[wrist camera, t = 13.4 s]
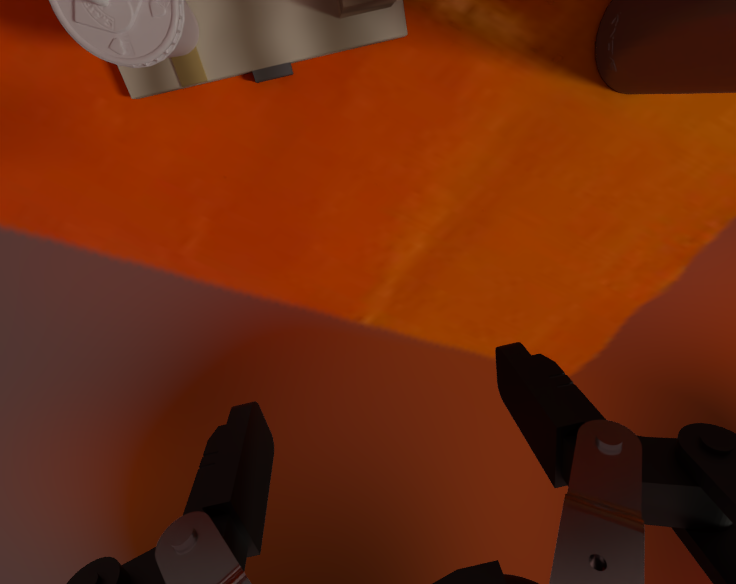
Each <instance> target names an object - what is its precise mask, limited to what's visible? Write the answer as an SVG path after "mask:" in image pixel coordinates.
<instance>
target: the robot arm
mask: <svg viewBox="0 0 736 584" xmlns="http://www.w3.org/2000/svg"><path fill="white" fill-rule="evenodd" d="M596 62H597V66H598V70H599V72H600V74H601V76H602V78H603V80H604V81H605V82H606V84H607V85H608V86H609V87H610V88H612V89H614V90H615V91H617V92H620V93H623V94H694V93H736V0H612V2H611V3H610V5H609V6H608V8H607V10H606V12H605V14H604V16H603V18H602V20H601V23H600V27H599V30H598V33H597V40H596ZM495 352H496V369H497V383H498V389H499V392H500V395H501V398H502V400H503V402H504V404H505V405H506V407H507V409H508V410H509V412H510V414H511V416H512V417H513V419H514V420H515V422H516V424H517V426H518V427H519V429H520V430H521V432H522V434H523V436H524V437H525V439H526V441H527V442H528V444H529V446H530V447H531V449H532V451H533V453H534V454H535V456H536V458H537V459H538V461H539V462H540V464H541V466H542V468H543V469H544V471H545V473H546V474H547V476H548V478H549V479H550V481H551V483H552V484H553V486H554V488H558V487H562V486H567V485H568V492H567V494H565V498H564V503H563V510H562V515H561V520H560V526H559V532H558V538H557V543H556V549H555V554H554V560H553V566H552V571H551V577H550V584H644V540H645V537H644V536H645V533H644V532H645V530H644V524H647V525H656V526H667V527H672V529H673V530H674V532H675V533H676V534H677V536H678V537H679V538H680V540H681V541H682V542H683V544H684V545H685V546H686V548H687V549H688V550H689V552H690V553H691V554H692V556H693V557H694V558H695V560H696V561H697V563H698V564H699V565H700V567H701V568H702V569H703V570H704V572H705V573H706V575H707V576H708V577H709V579H710V580H711V581H712V583H713V584H736V434H735V433H734V432H732V431H730V430H727V429H725V428H723V427H719V426H716V425H712V424H704V423H695V424H690V425H687V426H684V427H683V428H682V429H681V430H680V431H679V434H678V438H656V437H655V438H654V437H642V436H637V435H635V433H633V432H632V431H631V430H630V429H628V428H627V427H625V426H623V425H621V424H619V423H616V422H613V421H608V420H606V419H605V418H604V417H603V416H602V415H601V414H600V412H599V411H598V410H597V409H596V408H595V407H594V406H593V404H592V403H591V402H590V401H589V400H588V399H587V398H586V397H585V395H584V394H583V393H582V392H581V391H580V390H579V389H578V387H577V386H576V385H574V384H573V382H572V381H571V380H570V378H569V377H568V376H567V375H565V373H564V372H563V370H562V369H561V368H560V367H559V366H558V365H557V364H556V362H554V361H553V360H551V359H549V358H547V357H545V356H544V355H542V354H536V355H532V356H531V354H530V353H529V352H528V351H527V350H526V348H525V347H524V346H523V345H522V344H521V343H520V342H517V343H512V344H508V345H503V346H499V347H496V351H495ZM203 456H204V457H202V460H201V463H200V466H199V467H200V469H198V472H197V475H196V478H195V481H194V484H193V487H192V490H191V493H190V495H189V498H188V502H187V505H186V507H185V510H184V513H183V516H181V517H180V518H178V519H177V520H175V521H174V522H173V523H172V524H171V525H170V526H169V527H168V528H167V529H166V530H165V531H164V533H163V534H162V535H161V537H160V539H159V541H158V543H157V546H156V547H155V548H153V549H151V550H150V551H148V552H146V553H144V554H142V555H140V556H138V557H136V558H134V559H133V560H131V561H129V562H127V563H125V564H123V565H121V564H120V563H119V562H118V561H117V560H116V559H115V558H112V557H103V558H99V559H97V560H95V561H93V562H91V563H89V564H87V565H86V566H85V567H83V568H82V569H80V570H79V571H78V572H77V573H76V574H75V575H74V576H73V577H72V578H71V579H70V580H69V581H68V583H67V584H251V583H250V581H249V579H248V578H247V576H246V575H245V573H244V570H245V564H246V558H247V557H251V556H255V555H260V552H261V545H262V538H263V530H264V523H265V515H266V508H267V501H268V493H269V485H270V479H271V472H272V464H273V457H274V442H273V437H272V434H271V432H270V430H269V427H268V425H267V423H266V420H265V418H264V416H263V413H262V411H261V409H260V407H259V405H258V403H257V402H250V403H246V404H242V405H238V406H233V407H232V408H231V411H230V414H229V417H228V421H227V424H226V425H221V426H218V428H217V429H216V430H215V432H214V433H213V434H212V436H211V437H210V438H209V440H208V442H207V445H206V448H205V451H204V454H203ZM433 584H538V583H536V582H534V581H532V580H529V579H526V578H523V577H519V576H514V575H507V574H503V573H502V570H501V567H500V565H499V562H498V560H497V561H493V562H488V563H484V564H480V565H475V566H471V567H467V568H462V569H458V570H456V571H454V572H452V573H450V574H449V575H447V576H445V577H443V578H442V579H440V580H438V581H436V582H435V583H433Z"/></svg>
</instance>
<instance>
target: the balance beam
mask: <svg viewBox="0 0 736 584" xmlns="http://www.w3.org/2000/svg"><path fill="white" fill-rule="evenodd" d="M185 1H186V2H187V4H188V5H189V7H190V9H191V10H192V12H193V13H194V15H195V17H196V20H197V22H198V26H199V38H198V42H197V44H196V46H195V48H194V49H193V50H192V51H191V52H190V53H188V54H186V55H183V56H177V57H170V58H166V59H165V60H163V61H161V62H159V63H157V64H155V65H153V66H150V67H142V68H130V67H124V66H118V65H117V66H118V68H119V70H120V73H121V75H122V77H123V80H124V82H125V84H126V86H127V89H128V91H129V93H130V95H131V98H132V99H140V98H144V97H148V96H153V95H157V94H161V93H166V92H170V91H174V90H178V89H183V88H187V87H191V86H195V85H200V84H204V83H208V82H213V81H217V80H221V79H225V78H230V77H234V76H238V75H243V74H247V73H251V72H253V75H254V78H255V82H257V83H259V82H263V81H267V80H272V79H276V78H280V77H284V76H289V75H293V71H292V67H291V64H290V63H294V62H298V61H302V60H307V59H311V58H315V57H320V56H324V55H328V54H332V53H337V52H341V51H345V50H350V49H354V48H358V47H362V46H367V45H371V44H375V43H380V42H384V41H388V40H392V39H397V38H401V37H405V36H406V35H407V27H406V20H405V13H404V5H403V0H185Z"/></svg>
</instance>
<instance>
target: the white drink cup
mask: <svg viewBox="0 0 736 584" xmlns="http://www.w3.org/2000/svg"><path fill="white" fill-rule="evenodd" d="M49 2H50V4H51V7H52V9H53V11H54V13H55V15H56V16H57V18H58V20H59V21H60V23H61V24H62V26H63V27H64V28H65V30H66V31H67V32H68V33H69V35H70V36H71V37H72V38H73V39H74V40H75V41H76V42H77V43H78V44H80V45H81V46H82V47H83V48H84V49H86V50H87V51H88V52H90V53H92V54H93V55H95V56H97V57H99V58H100V59H103V60H105V61H108V62H111V63H114V64H116V65H118V66H124V67H130V68H142V67H150V66H153V65H155V64H157V63H159V62H161V61H163V60H165V59H166V58H170V57H177V56H183V55H186V54H188V53H190V52H191V51H192V50H193V49H194V48H195V46H196V44H197V42H198V38H199V26H198V22H197V20H196V17H195V15H194V13H193V12H192V10H191V9H190V7H189V5H188V4H187V2H186V1H185V0H49Z"/></svg>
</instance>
